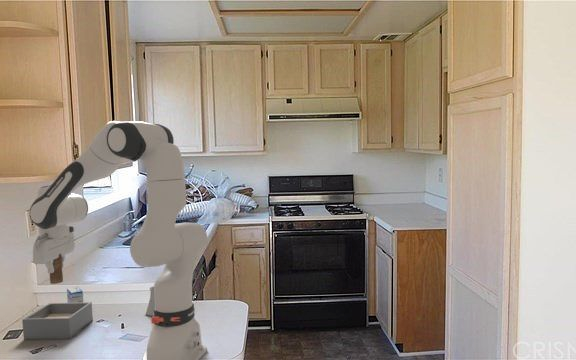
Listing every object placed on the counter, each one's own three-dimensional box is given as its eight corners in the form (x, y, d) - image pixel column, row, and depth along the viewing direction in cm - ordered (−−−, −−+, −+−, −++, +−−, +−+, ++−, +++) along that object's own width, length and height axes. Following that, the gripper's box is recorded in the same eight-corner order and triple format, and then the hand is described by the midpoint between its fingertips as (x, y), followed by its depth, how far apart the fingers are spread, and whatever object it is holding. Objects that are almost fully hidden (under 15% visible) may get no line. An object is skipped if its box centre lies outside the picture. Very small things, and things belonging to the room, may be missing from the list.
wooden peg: (59, 283, 157) (57, 255, 157) (47, 283, 157) (45, 255, 157) (65, 280, 161) (63, 252, 161) (54, 280, 161) (52, 252, 161)
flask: (167, 309, 177) (166, 284, 177) (160, 316, 170) (159, 290, 169) (149, 309, 178) (148, 284, 177) (142, 316, 171) (140, 290, 170)
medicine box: (67, 309, 181) (66, 288, 181) (79, 307, 184) (78, 286, 183) (72, 315, 175) (70, 293, 174) (84, 312, 178) (83, 290, 177)
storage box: (70, 339, 152) (69, 318, 152) (23, 339, 153) (22, 319, 152) (92, 320, 168) (91, 302, 168) (50, 321, 169) (49, 303, 168)
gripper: (45, 237, 148) (47, 278, 149) (76, 226, 168) (79, 263, 169) (26, 237, 148) (29, 279, 149) (60, 226, 168) (62, 263, 169)
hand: (55, 270), depth 159 cm, fingers closed on wooden peg, 4 cm apart
